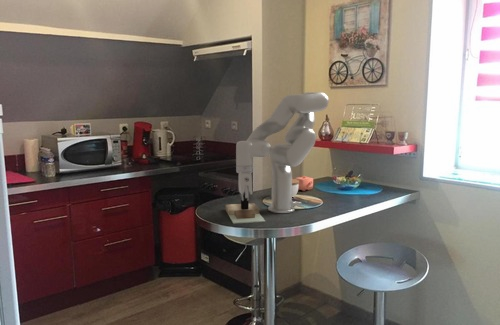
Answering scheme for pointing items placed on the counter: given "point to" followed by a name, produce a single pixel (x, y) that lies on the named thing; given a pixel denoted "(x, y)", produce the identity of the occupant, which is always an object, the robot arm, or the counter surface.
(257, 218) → the sage mat
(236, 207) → the birch board
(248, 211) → the walnut block
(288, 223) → the counter surface
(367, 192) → the counter surface
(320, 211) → the counter surface
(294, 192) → the lidded bowl
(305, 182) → the pink cube teapot
